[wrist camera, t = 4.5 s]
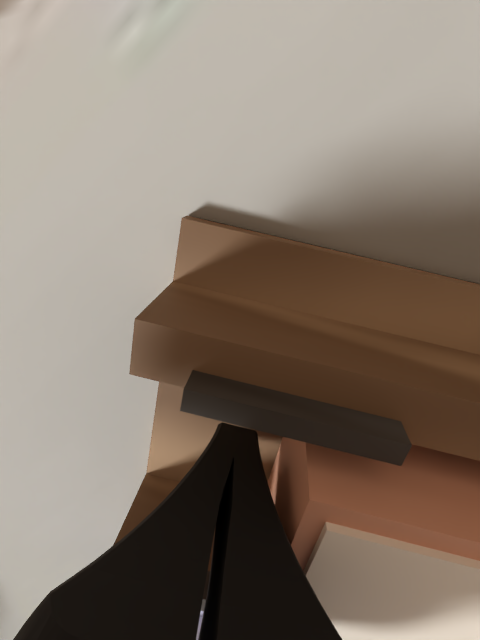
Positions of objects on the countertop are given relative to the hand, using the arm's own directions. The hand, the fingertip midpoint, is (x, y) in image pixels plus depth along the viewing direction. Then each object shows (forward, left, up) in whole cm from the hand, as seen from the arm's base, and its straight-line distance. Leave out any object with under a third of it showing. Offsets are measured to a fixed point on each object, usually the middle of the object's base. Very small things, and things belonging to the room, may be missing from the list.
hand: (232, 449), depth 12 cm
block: (0, -5, -2) cm, 5 cm away
